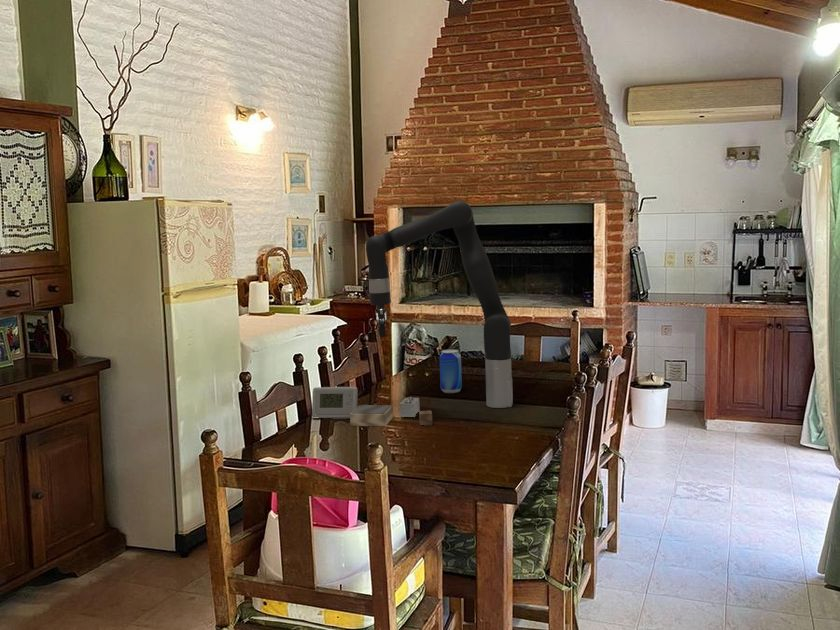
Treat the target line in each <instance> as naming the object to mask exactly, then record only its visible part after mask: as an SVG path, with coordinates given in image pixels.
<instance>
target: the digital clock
mask: <svg viewBox="0 0 840 630" xmlns="http://www.w3.org/2000/svg"><path fill="white" fill-rule="evenodd" d="M358 392H359V391H358V387H356V386H323V387H321V386H320V387H317V386H316V387H313V389H312V397H311V398H312V400H311V401H312V403H311V417H312V416H313V417H319V418H333V419H332V420H348V419H350V414H351V413H352V412H353V411H354V410H355V409H356V408H357V407H358V395H359V394H358ZM315 414H316V415H315Z"/></svg>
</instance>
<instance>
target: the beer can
mask: <svg viewBox="0 0 840 630" xmlns="http://www.w3.org/2000/svg"><path fill="white" fill-rule="evenodd" d="M439 379H440V381H439V382H440V390H441V391H442V392H443V393H445V394H455V393H460V392H461V389H462V387H463V378H462V356H461V354H460V353H459V350H457V349H443V350H441V354H440V355H439Z"/></svg>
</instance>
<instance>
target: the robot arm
mask: <svg viewBox="0 0 840 630" xmlns="http://www.w3.org/2000/svg"><path fill="white" fill-rule="evenodd" d="M475 223H476V222H475V219H474V212H473V209H472V207H471V206H470V205H469V204H468V203H467V202H465V201H463V200H456V201H455V200H454V201H453V202H451V203H450V204H449V205H447V206H445V207H444V208H442V209H441V210H439V211H437V212H435V213H434V212H433V213H432V214H430V215H427V216H425V217H421V218H419V219H416V220H412V221H409V222H407V223H404V224H402V225H399V226H396V227H394V228H393V229H390V230H389V231H385V232H381V233H380V234H376V235H372V236H369V238H368V239H367V241H366V243H365V252H366V258H367V259H366V260H367V263H368V291H369V292H368V293H369V304H370V306H376V309H374V310H375V311H374V312H375V317H376V318H375V319H376V322H377V325H378V334H379V338H386V336H387V335H386V325H387V323H386V322H387V308H385V305H389V304H391V302H392V299H391V286H390V279H389V267H388V263H387V258H386V255H387V254H386V253H387V252H390V251H392V250H394V249H397V248H400V247H405V246H407V245H410V244H412V243H414V242H418V241H419V240H421V239H424V238H425V237H427V236H430V235H432V234H435V233H438V232H440V231H443V230H447V229H453V231H454V234H455V237H456V238H457V241H458V244H459V251H460V256H461V261H462V265H463V269H464V272H465V274H466V278H467V280H468V283H469V285H470V288H471V289H472V292H473V293H474V294H475V296H476V298H477V300H478V302H479V304H480V307H481V310H482V313H483V318H484V325H483V344H484V345H483V350H484V361H485V362H484V363H485V364H484V365H485V395H486V398H485V399H486V400H485V401H486V406H487V407H489V408H494V409H502V408H503V409H505V408H512V406H513V403H514V401H513V400H514V398H513V397H514V396H513V391H514V390H513V377H512V350H511V349H512V348H511V328H512V324H511V320H510V317H509V316H508V314H507V312H506V309H505V307H504V305H503V303H502V301H501V298H500V295H499V290H498V287H497V281H496V278H495V275H494V272H493V268H492V266H491V263H490V259H489V257H488V255H487V252H486V249H485V248H484V246H483V244H482V242H481V239H480V237H479V234H478V231H477V227H476V224H475Z"/></svg>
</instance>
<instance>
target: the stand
mask: <svg viewBox="0 0 840 630" xmlns="http://www.w3.org/2000/svg"><path fill="white" fill-rule="evenodd" d="M393 418H394V405H390V404H389V405H386V404H385V405H383V404H380V405H379V404H377V405H376V404H373V405H372V404H370V405H369V404H361V405H360V404H359V405H357V408H356V409H355V410H354V411H353V412H352V413H351V414H350V420H349V422H350V425H349V426H350V427H354V426H356V427H386V426H387V425H388V424H389V423H390V422H391V421H392V419H393Z"/></svg>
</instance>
